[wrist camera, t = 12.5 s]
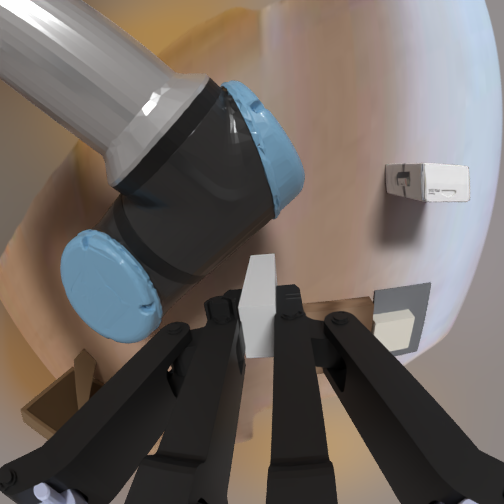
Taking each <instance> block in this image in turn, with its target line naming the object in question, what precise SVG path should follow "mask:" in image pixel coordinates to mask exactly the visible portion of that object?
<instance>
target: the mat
mask: <svg viewBox="0 0 504 504" xmlns="http://www.w3.org/2000/svg"><path fill="white" fill-rule="evenodd" d="M430 288H431V283H430V282H429V283H423V284H417V285H411V286H404V287H397V288H390V289H383V290H375V291H374V302H373V303H374V312H373V315H374V314H381V313H388V312H394V311H400V310H406V309H409V310H410V312H411V313H412V314H413V315H414V317H415V320H414V324H413V329H412V333H411V338H410V342H409V346H408V348H405V349H400V350H395V351H390V352H391V353H392V355H393V356H398V355H402V354H407V353H411V352H415V351H417V349H418V346H419V342H420V338H421V334H422V329H423V325H424V320H425V316H426V311H427V305H428V300H429V294H430Z"/></svg>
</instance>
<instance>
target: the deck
mask: <svg viewBox="0 0 504 504" xmlns="http://www.w3.org/2000/svg"><path fill="white" fill-rule="evenodd" d="M302 305H303V310H304V312H305V313H306V316H307V317H309V318H311V319H314V320H321V321H324V318H325V316H327V315H328V314H329V313H332V312H336V311H345V312H349V313H351V314H353V315H354V316H355V317H356V318H357V319H358V320H359V321H360V322H361V323H362V324H363V325H364V326H365V327H366V328H367V329H368V330H369V331H370V332H371V329H372V321H373V312H374V303H373V302H372V300H371V299H370V297H369V296H368V297H361V298H352V299H344V300H335V301H326V302H316V303H306V304H302ZM316 373H317V374H321V373H324V372H323V369H322V367H316Z"/></svg>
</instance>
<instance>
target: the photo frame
mask: <svg viewBox="0 0 504 504" xmlns="http://www.w3.org/2000/svg"><path fill="white" fill-rule="evenodd" d="M95 365H96V360H95V359H94V358H93V357H92V356H91V355H90V354H89V353H88V352H87V351H86V350H85V349H83V350H82V351H81V352H80V354H79V355H78V356H77V357H76V358H75V359H74V367H72V368H71V369H69V370H68V371H67V372H66V373H64V374H63V375H62V376H61V377H59V378H58V379H57V380H56V381H54V382H53V383H52V384H51V385H50V386H49V387H47V388H46V389H45V390H43V391H42V392H41V393H40V394H39V395H37V396H36V397H35V398H34V399H33V400H31V401H30V402H29V403H28V404H26V405H25V406H24V407H23V408H22V409H21V413H22V417H23V421H24V422H25V423H26V424H27V425H29V426H30V427H31V428H32V429H34V430H35V431H36V432H38V433H39V434H40V435H42V436H43V437H45V438H46V439H47V440H49V439H50V438H51V437H52V436H53V435H54V434H55V433H56V432H57V431H58V430H59V429H60V428H61V427H62V426H63V425H64V424H65V423H66V422H67V421H68V420H69V419H70V418H71V417H72V416H73V415H74V414H75V413H76V412H77V411H78V410H79V409H80V408H81V407H82V406H83V405H84V404H85V403H86V402H87V401H88V400H89V399H90V398H91V397H92V396H93V395H94V394H95V393H96V392H97V391H98V390H99V389H100V388H101V387H102V386H103V385H104V384H103V383H101V382H99V381H98V380H96V379H94V378H93V374H94V370H95Z"/></svg>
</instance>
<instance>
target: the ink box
mask: <svg viewBox="0 0 504 504" xmlns="http://www.w3.org/2000/svg"><path fill="white" fill-rule="evenodd" d="M386 187H387V193H389V194H393V195H398V196H402V197H407V198H411V199H415V200H419V201H423V202H467V201H469V200H470V177H469V167H468V166H461V165H450V164H435V163H399V164H386Z"/></svg>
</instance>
